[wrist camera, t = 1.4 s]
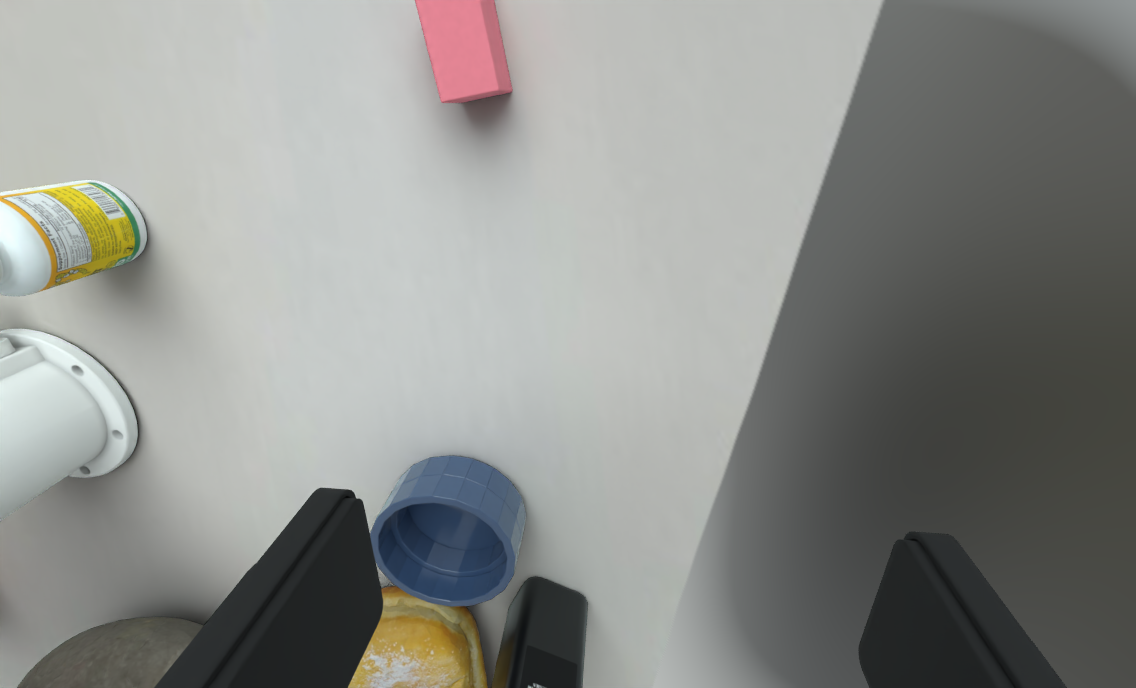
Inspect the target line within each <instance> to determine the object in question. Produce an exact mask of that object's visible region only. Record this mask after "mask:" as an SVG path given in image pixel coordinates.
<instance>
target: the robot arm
mask: <svg viewBox="0 0 1136 688" xmlns="http://www.w3.org/2000/svg"><path fill="white" fill-rule="evenodd" d="M137 437H138V429H137V420H136V417H135V414H134V410H133V407H132V405H131V403H130V401H129V399H128V397H127V395H126V394H125V392H124V391H123V389H122V388H121V386H120V385H119V384H118V382H117V381H116V380H115V379H114V378H113V376H112V375H111V374H110V373H109V372H108V371H107V370H106V369H105V368H104V367H103V366H102V365H101V364H99V363H98V362H97V361H96V360H95V359H94V358H92V357H91V356H90V355H88V354H87V353H85V352H84V351H82V350H81V349H79V348H78V347H76V346H75V345H73V344H71V343H69V342H67V341H65V340H63V339H61V338H58V337H55V336H53V335H50V334H47V333H44V332H40V331H35V330H29V329H7V330H3V331H0V521H1V520H3V519H4V518H6V517H7V516H9V515H10V514H12V513H13V512H15V511H16V510H18V509H19V508H20V507H22V506H23V505H25V504H26V503H28V502H29V501H31V500H32V499H34V498H35V497H37V496H38V495H40V494H41V493H43V492H44V491H46V490H47V489H49V488H50V487H52V486H53V485H55V484H56V483H58V482H59V481H61V480H62V479H64V478H65V477H66V476H70V477H81V478H90V477H96V476H101V475H104V474H106V473H109V472H111V471H112V470H114V469H115V468H117V467H118V466H120V465H121V464H122V463H124V462H125V461H126V460H127V459H128V458H129V457H130V456H131V454H132V453H133V451H134V449H135V447H136V443H137ZM382 611H383V596H382V591H381V587H380V582H379V577H378V572H377V567H376V562H375V557H374V553H373V548H372V543H371V538H370V533H369V528H368V523H367V519H366V514H365V509H364V504H363V501H362V500H361V499H356V497H355V494H354V492H353V491H352V490H345V489H331V488H319V489H317V490H316V491H315V492H314V493H313V494H312V495H311V496H310V497H309V499H308V500H307V501H306V502H305V504H304V505H303V506H302V507H301V509H300V510H299V511H298V512H297V514H296V515H295V516H294V517H293V519H292V520H291V521H290V522H289V524H288V525H287V526H286V527H285V529H284V530H283V531H282V532H281V534H280V535H279V536H278V537H277V539H276V540H275V541H274V542H273V544H272V545H271V546H270V547H269V548H268V550H267V551H266V552H265V553H264V555H263V556H262V557H261V558H260V560H259V561H258V562H257V563H256V564H255V565H254V566H253V567H252V568H251V569H250V570H249V571H248V572H247V573H246V574H245V575H244V577H243V578H242V579H241V580H240V582H239V583H238V584H237V585H236V587H235V588H234V589H233V590H232V592H231V593H230V594H229V595H228V596H227V598H226V599H225V600H224V601H223V603H222V604H221V605H220V606H219V608H218V609H217V610H216V611H215V613H214V614H213V615H212V616H211V618H210V619H209V620H208V621H207V623H206V624H205V625H204V626H203V627H202V629H201V630H200V631H199V632H198V634H197V635H196V636H195V637H194V639H193V640H192V641H191V642H190V644H189V645H188V646H187V647H186V649H185V650H184V651H183V652H182V653H181V655H180V656H179V657H178V658H177V660H176V661H175V662H174V663H173V665H172V666H171V667H170V668H169V670H168V671H167V672H166V673H165V675H164V676H163V677H162V678H161V680H160V681H159V682H158V683H157V684H156V686H155V687H154V688H348V686H349V684H350V682H351V680H352V678H353V676H354V674H355V672H356V669H357V667H358V665H359V663H360V661H361V659H362V657H363V655H364V653H365V651H366V648H367V646H368V644H369V642H370V640H371V638H372V636H373V634H374V632H375V630H376V628H377V625H378V623H379V621H380V618H381V615H382ZM859 660H860V664H861V668H862V671H863V673H864V675H865V678H866V680H867V683H868V685H869V688H1067V687H1066V686H1065V684H1064V683H1063V682H1062V680H1061V679H1060V678H1059V676H1058V675H1057V674H1056V672H1055V671H1054V670H1053V668H1052V667H1051V666H1050V664H1049V663H1048V662H1047V660H1046V659H1045V657H1044V656H1043V655H1042V653H1041V652H1040V651H1039V650H1038V648H1037V647H1036V645H1035V644H1034V643H1033V642H1032V641H1031V639H1030V638H1029V637H1028V635H1027V634H1026V633H1025V631H1024V630H1023V629H1022V627H1021V626H1020V625H1019V623H1018V622H1017V620H1016V619H1015V618H1014V616H1013V615H1012V614H1011V612H1010V611H1009V610H1008V608H1007V607H1006V606H1005V604H1004V603H1003V602H1002V601H1001V599H1000V598H999V597H998V595H997V594H996V592H995V591H994V590H993V588H992V587H991V586H990V584H989V583H988V582H987V580H986V579H985V578H984V576H983V575H982V574H981V572H980V571H979V569H978V568H977V567H976V566H975V564H974V563H973V561H972V560H971V559H970V557H969V556H968V555H967V554H966V552H965V551H964V550H963V548H962V547H961V545H960V544H959V543H958V542H957V540H955V538H954V537H952V536H951V535H949V534H939V533H938V534H937V533H925V532H909V533H908V534H906V536H905V538H904V540H897V541H896V542H895V544H894V546H893V549H892V552H891V555H890V558H889V561H888V563H887V566H886V569H885V572H884V575H883V578H882V581H881V583H880V586H879V589H878V592H877V595H876V598H875V601H874V604H873V606H872V609H871V612H870V615H869V618H868V621H867V624H866V626H865V629H864V633H863V635H862V638H861V641H860V644H859Z"/></svg>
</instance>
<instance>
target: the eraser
mask: <svg viewBox="0 0 1136 688" xmlns="http://www.w3.org/2000/svg"><path fill="white" fill-rule="evenodd" d="M415 2H416V6H417V10H418V14H419V18H420V22H421V26H422V30H423V33H424V37H425V41H426V45H427V49H428V53H429V57H430V61H431V65H432V69H433V73H434V76H435V80H436V84H437V88H438V92H439V96H440V100H441V102H442V103H463V102H468V101H473V100H477V99H482V98H487V97H492V96H496V95H501V94H506V93H510V92H512V86H511V81H510V76H509V71H508V66H507V61H506V56H505V52H504V47H503V42H502V37H501V32H500V27H499V22H498V17H497V12H496V8H495V3H494V0H415Z"/></svg>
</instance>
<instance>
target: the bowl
mask: <svg viewBox="0 0 1136 688" xmlns="http://www.w3.org/2000/svg"><path fill="white" fill-rule="evenodd" d="M525 519H526V511H525V508H524V504H523V500H522V497H521V495H520V494H519V493H518V491H517V490H516V488H515V487H514V485H513V484H512V483H511V481H510V480H509V479H507V478H506V477H505V476H504V475H502V474H501V473H500V472H499V471H497V470H496V469H495V468H493V467H491V466H489V465H487V464H485V463H483V462H480V461H478V460H475V459H471V458H467V457H460V456H453V455H452V456H441V457H432V458H428V459H426V460H423V461H421V462H419V463H416V464H414V465H413V466H412V467H410V468H409V469H408V470H407V471H406V472H405V473H404V474H403V475H402V476H401V477H400V479H399V481H398V482H397V484H396V486H395V487H394V489H393V491H392V493H391V494H390V496H389V498H388V499H387V501H386V503H385V504H384V506H383V508H382V509H381V511H380V513H379V515H378V516H377V518H376V520H375V523H374V525H373V528H372V530H371V533H370V538H371V543H372V548H373V553H374V557H375V561H376V563H377V566H378V567H379V569H380V570H381V571H382V572H383V573H384V575H385V576H386V577H387V578H388V579H389V580H390V581H391V582H392V583H393V584H394V585H396V586H397V587H398V588H400V589H401V590H403V591H404V592H406V593H407V594H409V595H411V596H413V597H416V598H418V599H421V600H423V601H426V602H428V603H429V602H430V603H432V604H438V605H444V606H449V607H456V606H471V605H476V604H479V603H482V602H485V601H488V600H491V599H492V598H494V597H495V596H496V595H498V594H499V593H501V592H502V591H503V590H505V588H506V587H507V585H508V583H509V582H510V580H511V579H512V577H513V575H514V572H515V567H516V563H517V559H518V554H519V550H520V546H521V541H522V537H523V532H524V527H525Z"/></svg>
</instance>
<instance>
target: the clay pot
mask: <svg viewBox="0 0 1136 688" xmlns="http://www.w3.org/2000/svg"><path fill="white" fill-rule="evenodd" d="M203 626H204V625H202V624H198V623H195V622H192V621H188V620H184V619H180V618H170V617H143V618H133V619H126V620H120V621H116V622H112V623H108V624H105V625H101V626H98V627H95V628H92V629H89V630H87V631H84V632H82V633H80V634H78V635H76V636H74V637H72V638H71V639H69V640H67V641H65V642H64V643H62V644H61V645H60V646H58V647H57V648H55V649H54V650H52V651H51V652H50V653H49V654H48V655H46V656H45V657H44V658H43V659H42V660H41V661H40V662H39V663H37V664H36V665H35V667H34V668H33V669H32V670H31V671H30V672H29V673H28V674H27V675H26V676H25V678H24V679H23V680H22V682H21V683H20V684H19V686H18V687H17V688H154V687H155V686H156V684H157V683H158V682H159V681H160V680H161V678H162V677H163V676H164V675H165V673H166V672H167V671H168V670H169V668H170V667H171V666H172V665H173V663H174V662H175V661H176V660H177V658H178V657H179V656H180V655H181V653H182V652H183V651H184V650H185V649H186V647H187V646H188V645H189V644H190V642H191V641H192V640H193V639H194V637H195V636H196V635H197V634H198V632H199V631H200V630H201V629H202V627H203Z"/></svg>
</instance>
